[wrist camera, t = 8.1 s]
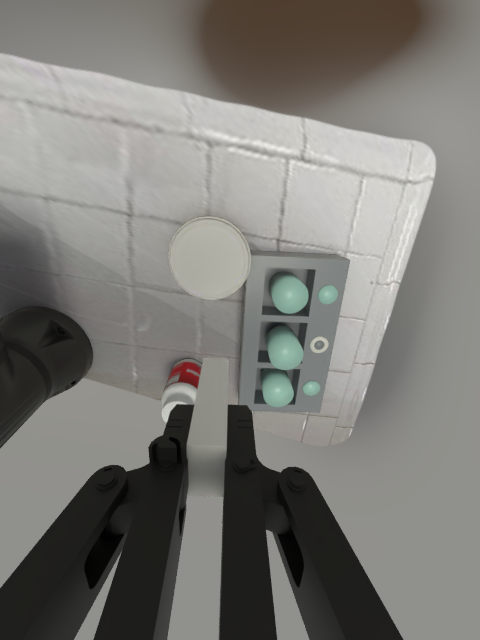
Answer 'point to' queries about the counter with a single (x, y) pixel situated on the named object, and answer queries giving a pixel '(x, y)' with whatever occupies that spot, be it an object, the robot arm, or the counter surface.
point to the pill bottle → (181, 385)
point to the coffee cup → (209, 258)
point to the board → (291, 325)
